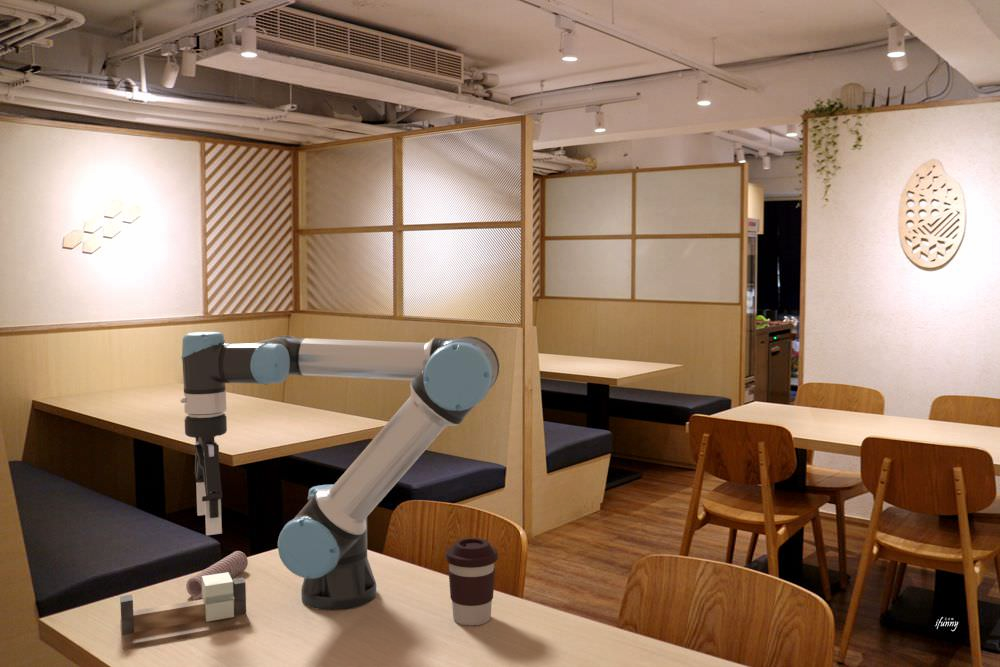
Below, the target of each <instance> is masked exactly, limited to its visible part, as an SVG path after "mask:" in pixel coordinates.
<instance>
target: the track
mask: <svg viewBox="0 0 1000 667" xmlns="http://www.w3.org/2000/svg"><path fill="white" fill-rule="evenodd" d="M232 581H233V599H234V617H231V618H225V619H219V620H213V621H208V622H206V615H205V601H204V599H202V598H201V599H199V600H191V601H185V602H178V603H173V604H172V603H171V604H166V605H165V604H164V605H161V606H154V607H148V608H141V609H136V610H134V600H133V594H128V595H121V596H119V599H120V601H119V603H120V622H119V624H120V632H121V640H122V649H123V650H127V649H134V648H139V647H145V646H149V645H156V644H161V643H165V642H166V643H167V642H171V641H178V640H183V639H189V638H194V637H200V636H204V635H212V634H215V633H217V634H218V633H223V632H227V631H233V630H238V629H244V628H250V627H251V620H250V618H249V617H248V614H247V592H246V591H247V588H246V587H247V585H246V581H245V579H244V576H243V577H236V578H235V577H234V578H232Z"/></svg>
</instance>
